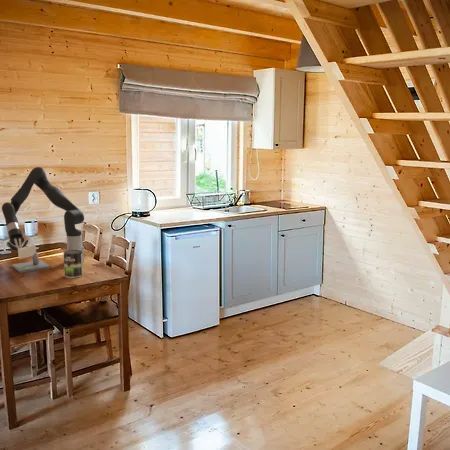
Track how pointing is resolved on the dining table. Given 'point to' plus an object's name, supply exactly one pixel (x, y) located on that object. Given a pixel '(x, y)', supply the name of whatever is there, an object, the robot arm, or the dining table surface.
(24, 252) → the lever handle
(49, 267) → the board
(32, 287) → the dining table surface
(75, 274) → the coffee can
